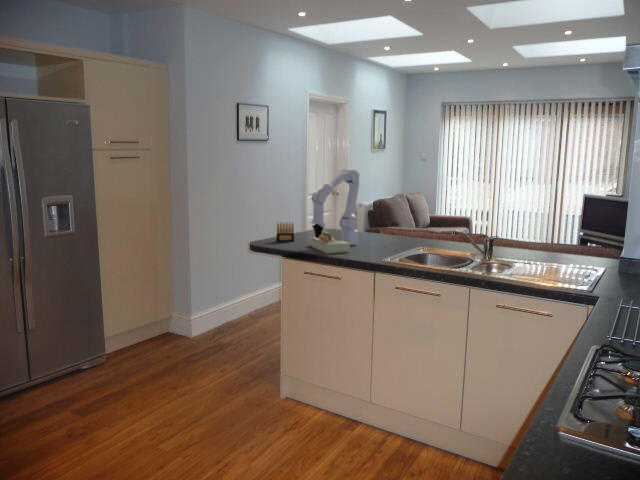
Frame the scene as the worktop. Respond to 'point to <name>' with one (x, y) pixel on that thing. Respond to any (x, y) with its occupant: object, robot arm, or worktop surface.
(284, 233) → the ammunition clip
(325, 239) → the block
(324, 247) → the flat box
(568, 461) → the worktop surface
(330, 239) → the lid
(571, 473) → the worktop surface
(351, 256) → the worktop surface
